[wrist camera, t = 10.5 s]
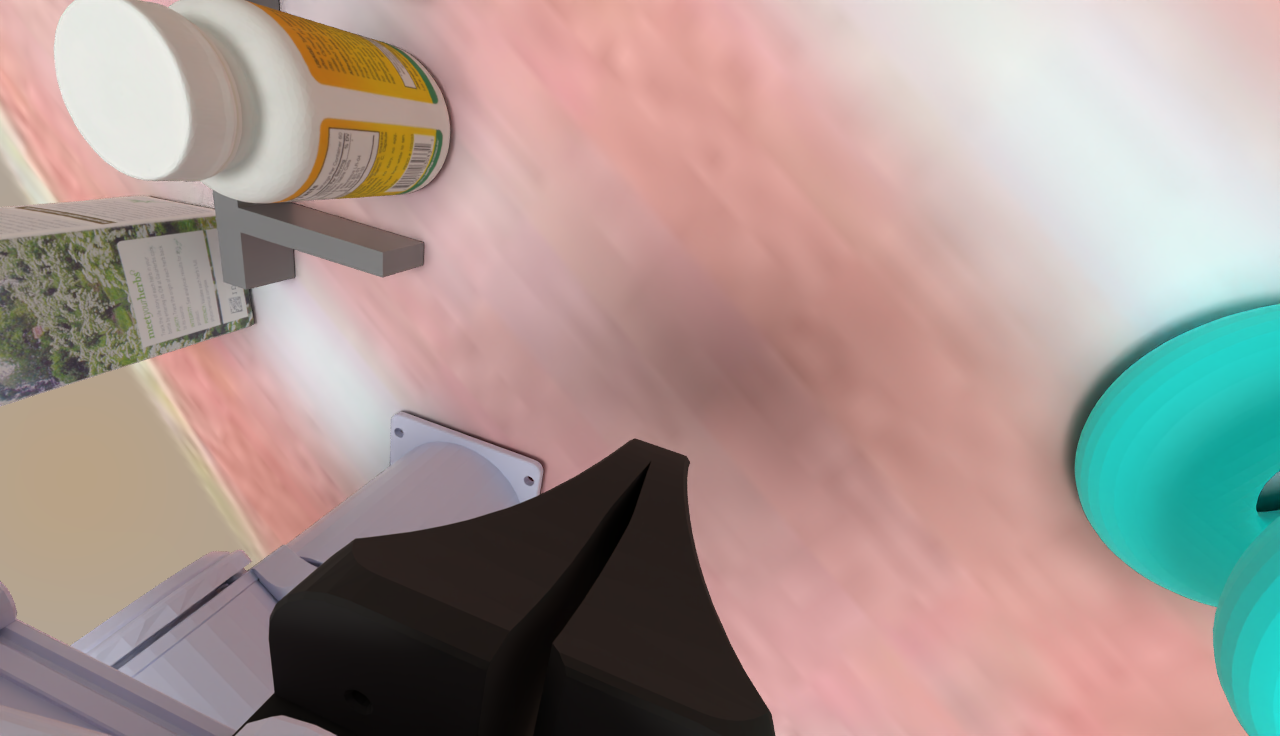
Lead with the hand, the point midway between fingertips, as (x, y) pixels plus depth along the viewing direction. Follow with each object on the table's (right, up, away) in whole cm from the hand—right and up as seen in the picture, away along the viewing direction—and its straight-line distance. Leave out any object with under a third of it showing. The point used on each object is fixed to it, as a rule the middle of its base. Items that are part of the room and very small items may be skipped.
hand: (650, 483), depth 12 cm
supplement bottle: (-10, +12, +9) cm, 18 cm away
